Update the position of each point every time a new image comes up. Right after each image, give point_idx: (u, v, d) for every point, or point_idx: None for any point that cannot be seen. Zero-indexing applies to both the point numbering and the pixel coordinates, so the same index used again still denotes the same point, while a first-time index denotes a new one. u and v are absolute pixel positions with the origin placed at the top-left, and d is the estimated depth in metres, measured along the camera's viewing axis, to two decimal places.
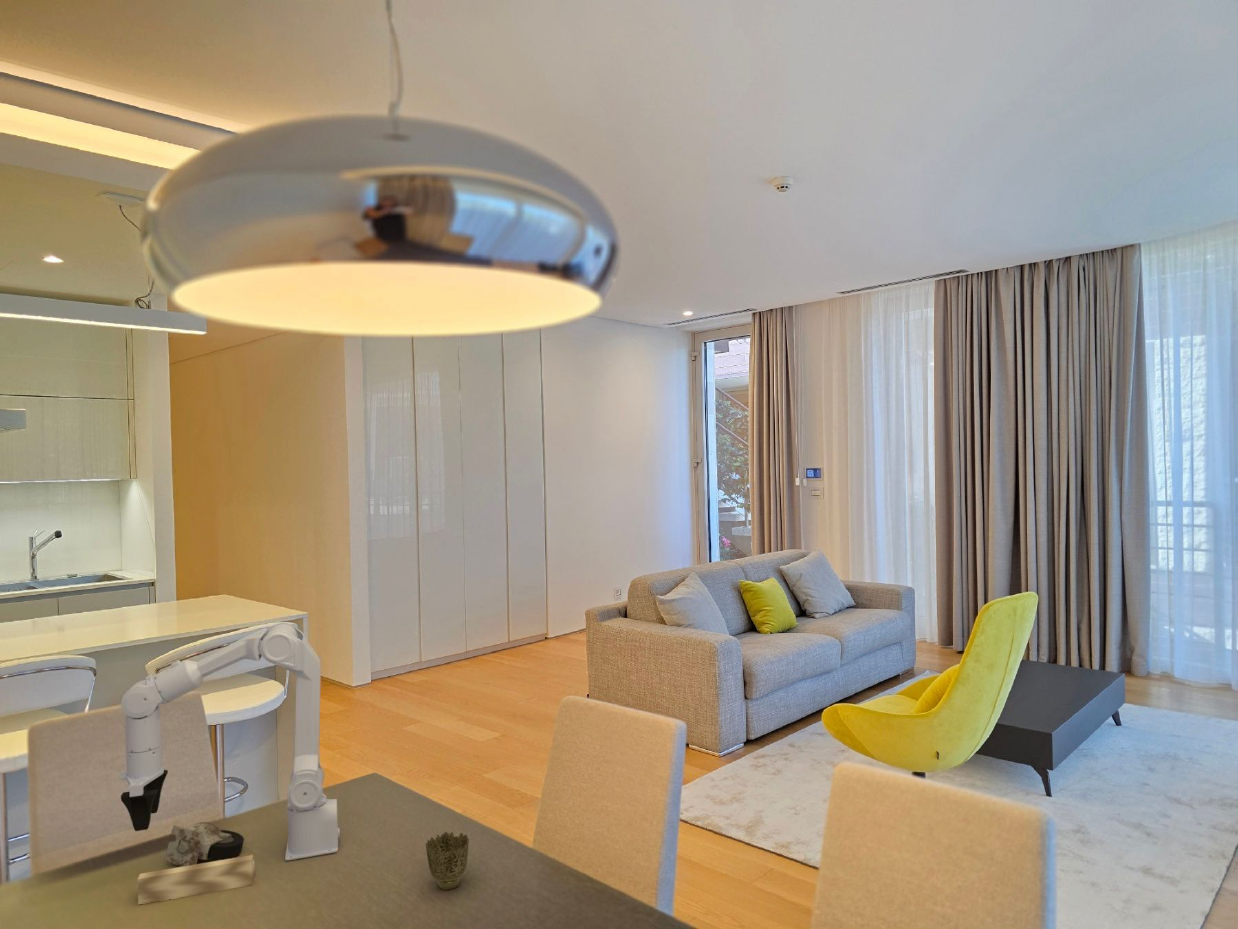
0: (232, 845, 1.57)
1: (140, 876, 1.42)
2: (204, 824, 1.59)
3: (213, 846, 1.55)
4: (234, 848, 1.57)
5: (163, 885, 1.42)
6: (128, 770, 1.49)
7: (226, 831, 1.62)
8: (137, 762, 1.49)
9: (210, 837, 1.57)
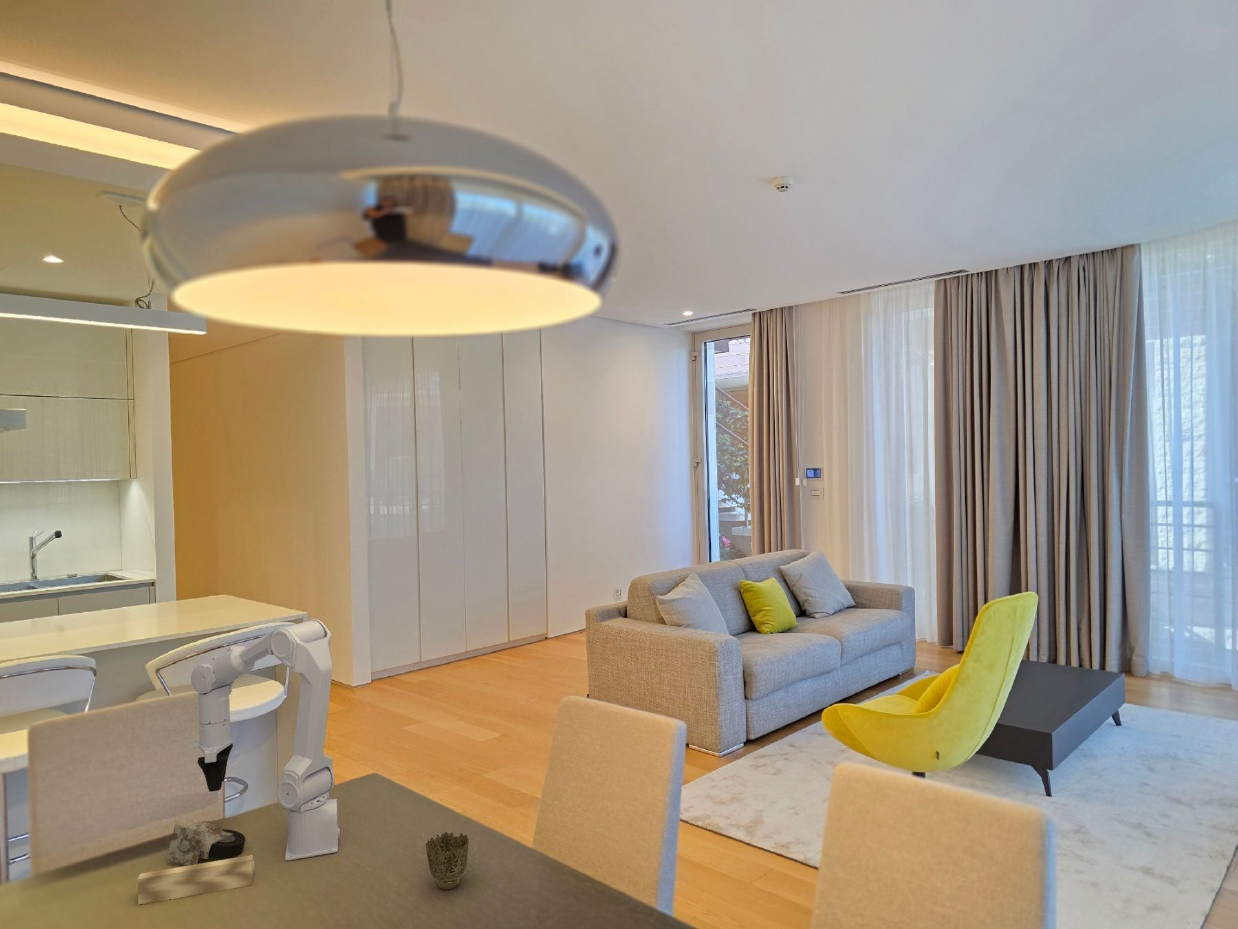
0: (233, 844, 1.57)
1: (140, 876, 1.42)
2: (206, 823, 1.59)
3: (214, 845, 1.55)
4: (235, 847, 1.57)
5: (163, 885, 1.42)
6: (201, 740, 1.67)
7: (228, 830, 1.62)
8: (209, 733, 1.67)
9: (212, 836, 1.58)
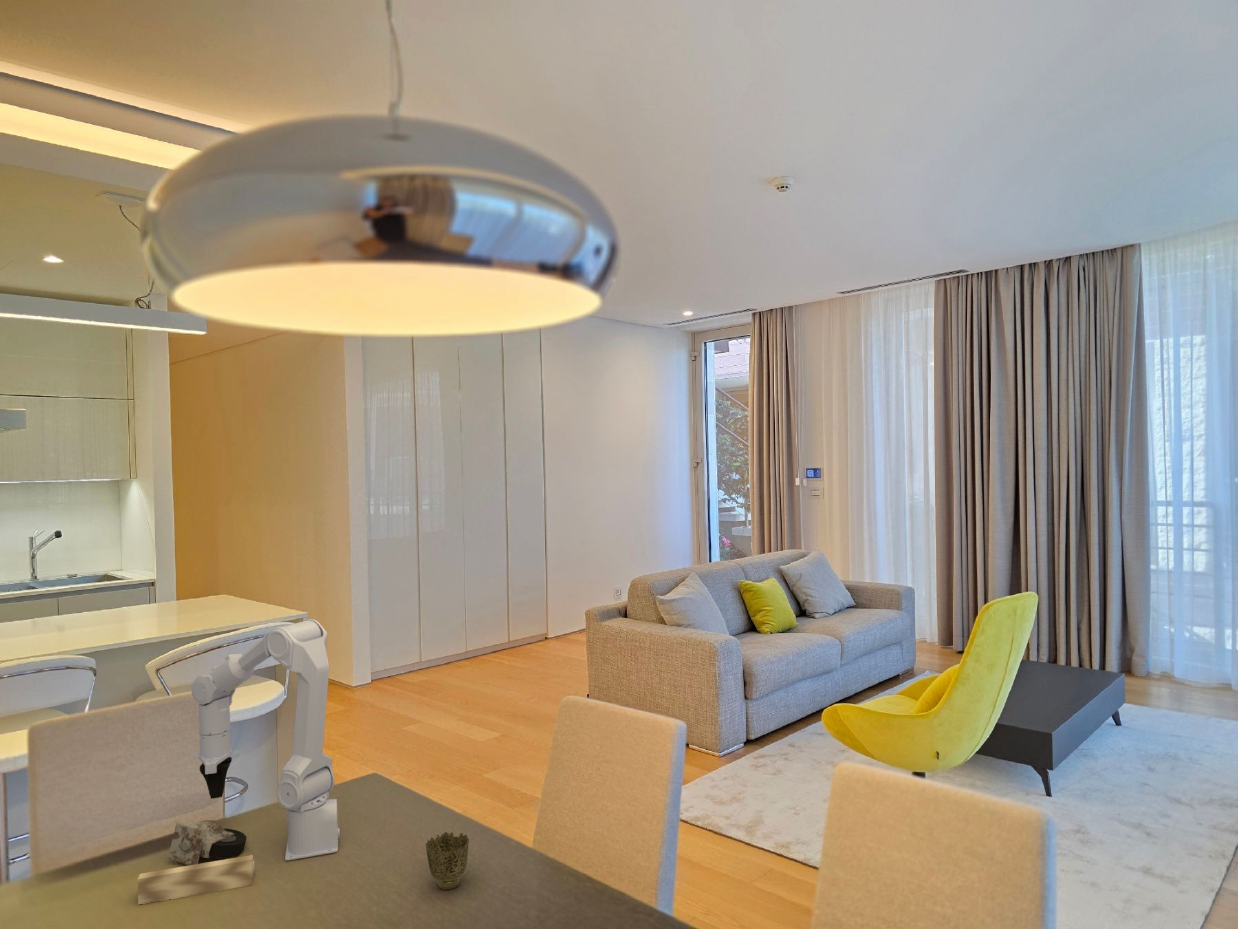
0: (234, 844, 1.57)
1: (140, 876, 1.42)
2: (207, 822, 1.60)
3: (215, 845, 1.55)
4: (236, 847, 1.57)
5: (163, 885, 1.42)
6: (202, 751, 1.67)
7: (230, 830, 1.63)
8: (210, 744, 1.67)
9: (213, 835, 1.58)
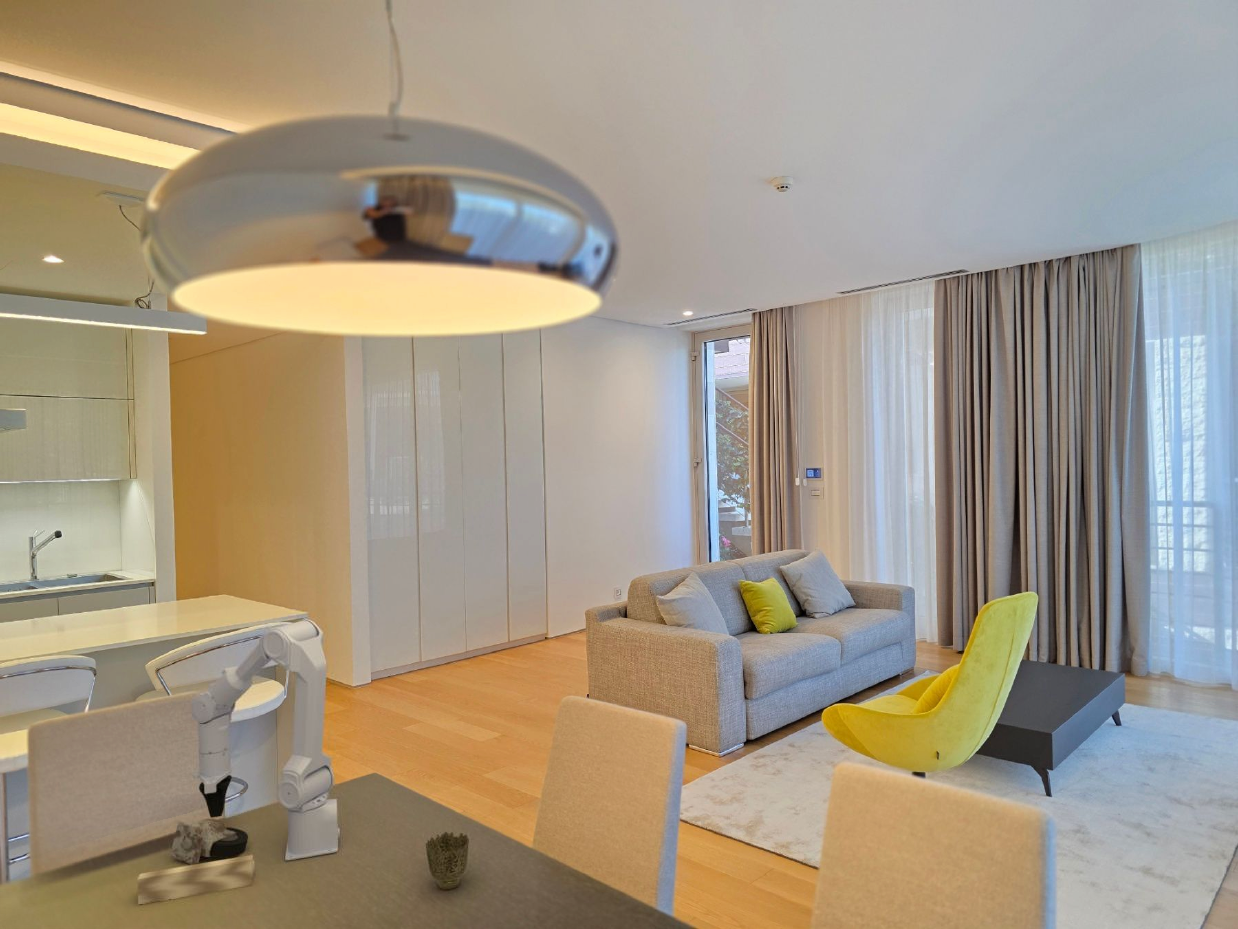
0: (235, 843, 1.57)
1: (140, 876, 1.42)
2: (209, 821, 1.60)
3: (215, 844, 1.56)
4: (237, 846, 1.57)
5: (163, 885, 1.42)
6: (201, 769, 1.66)
7: (232, 829, 1.63)
8: (209, 762, 1.65)
9: (214, 834, 1.59)
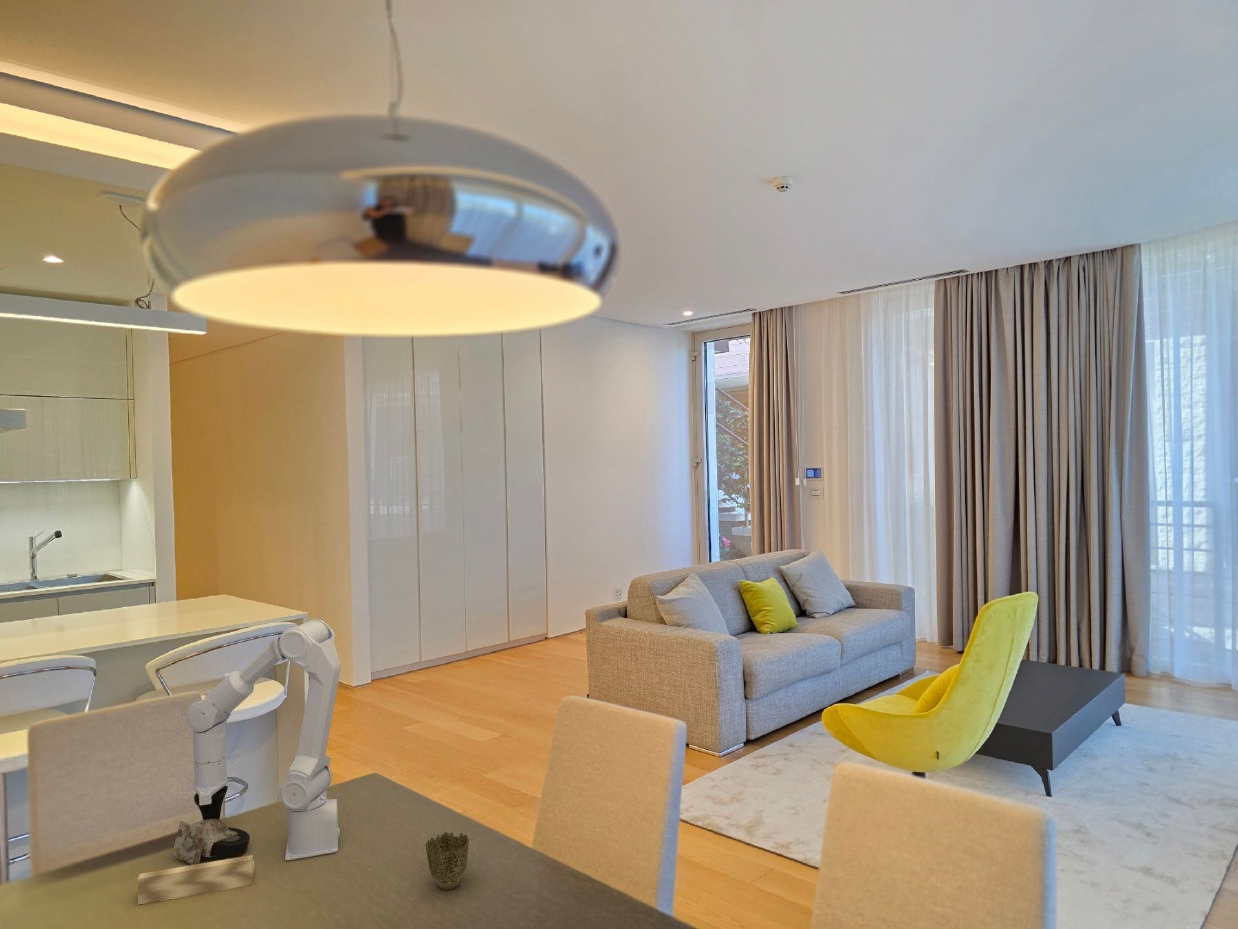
0: (235, 844, 1.57)
1: (140, 876, 1.42)
2: (211, 821, 1.60)
3: (216, 844, 1.55)
4: (237, 847, 1.57)
5: (163, 885, 1.42)
6: (196, 780, 1.60)
7: (234, 829, 1.63)
8: (204, 773, 1.59)
9: (216, 834, 1.58)
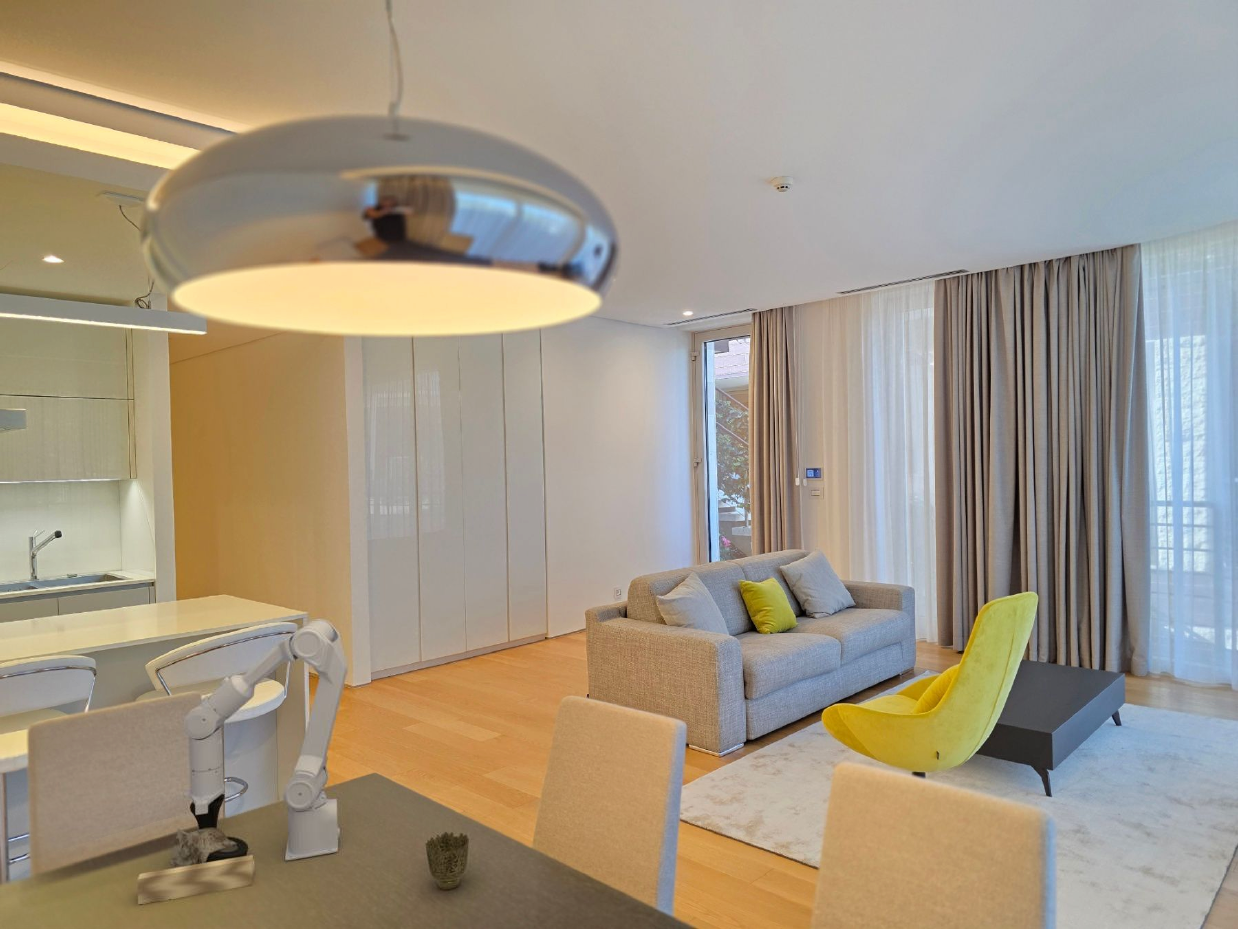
0: (231, 855, 1.52)
1: (140, 876, 1.42)
2: (210, 830, 1.56)
3: (212, 855, 1.51)
4: None
5: (163, 885, 1.42)
6: (192, 788, 1.56)
7: (234, 838, 1.58)
8: (201, 781, 1.55)
9: (213, 844, 1.54)
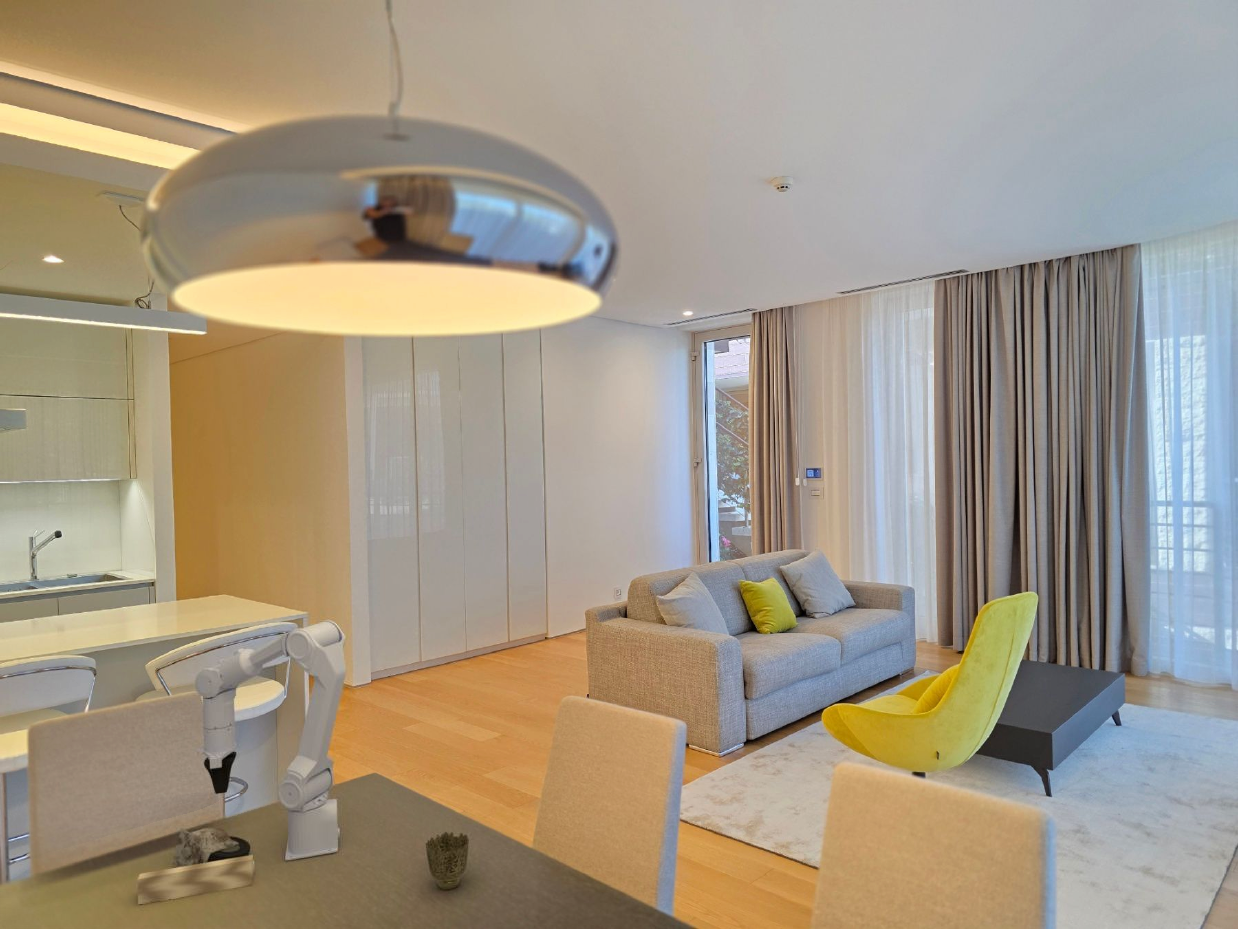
0: (233, 855, 1.52)
1: (140, 876, 1.42)
2: (213, 830, 1.56)
3: (213, 854, 1.51)
4: None
5: (163, 885, 1.42)
6: (206, 745, 1.64)
7: (237, 838, 1.59)
8: (214, 738, 1.63)
9: (215, 844, 1.54)
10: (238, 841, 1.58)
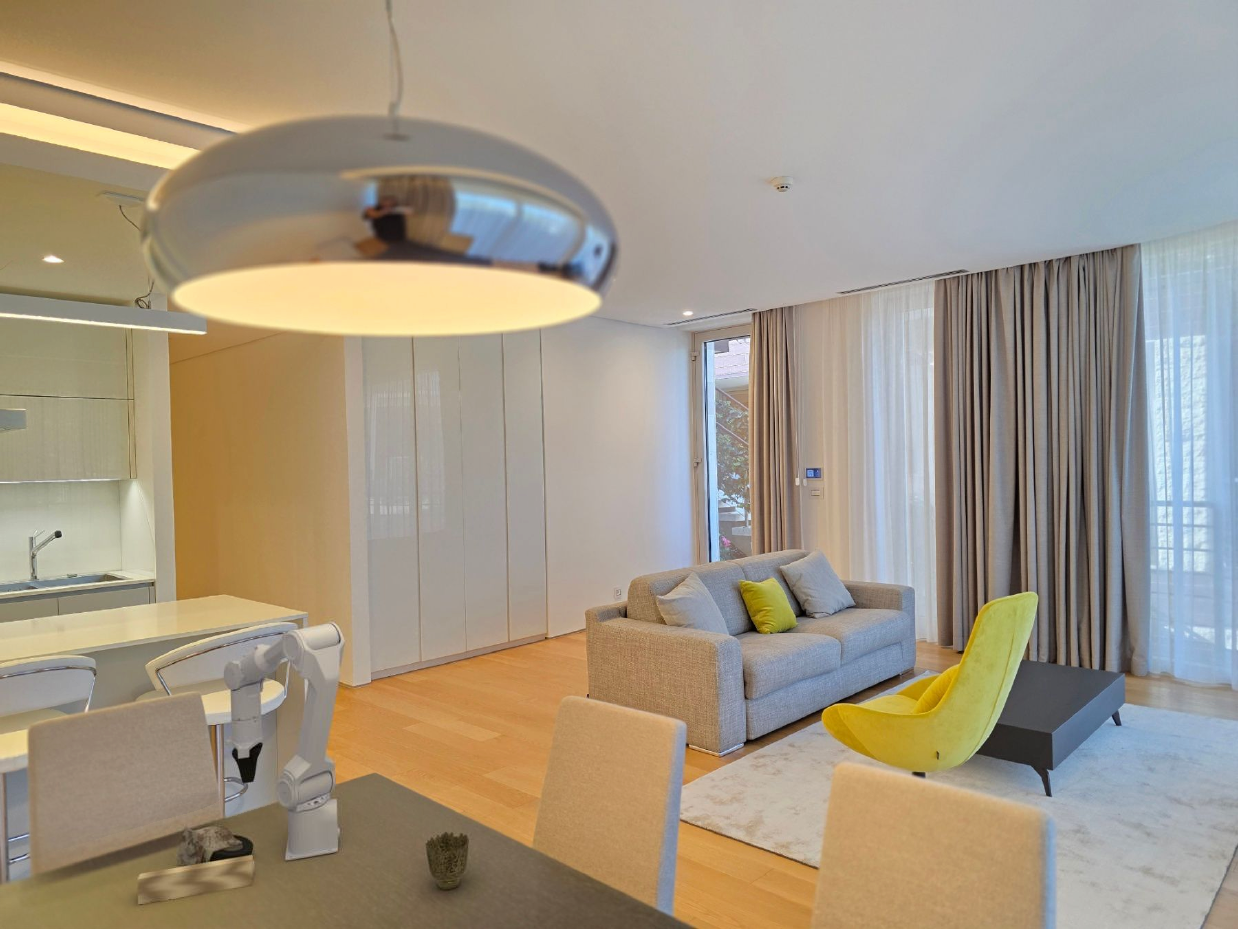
0: (235, 854, 1.53)
1: (140, 876, 1.42)
2: (217, 828, 1.57)
3: (215, 853, 1.52)
4: None
5: (163, 885, 1.42)
6: (234, 736, 1.69)
7: (241, 837, 1.59)
8: (242, 729, 1.69)
9: (218, 843, 1.55)
10: (242, 840, 1.58)
